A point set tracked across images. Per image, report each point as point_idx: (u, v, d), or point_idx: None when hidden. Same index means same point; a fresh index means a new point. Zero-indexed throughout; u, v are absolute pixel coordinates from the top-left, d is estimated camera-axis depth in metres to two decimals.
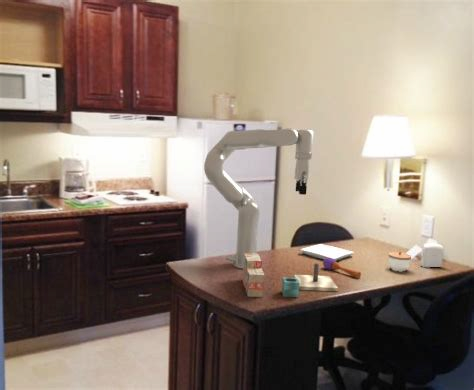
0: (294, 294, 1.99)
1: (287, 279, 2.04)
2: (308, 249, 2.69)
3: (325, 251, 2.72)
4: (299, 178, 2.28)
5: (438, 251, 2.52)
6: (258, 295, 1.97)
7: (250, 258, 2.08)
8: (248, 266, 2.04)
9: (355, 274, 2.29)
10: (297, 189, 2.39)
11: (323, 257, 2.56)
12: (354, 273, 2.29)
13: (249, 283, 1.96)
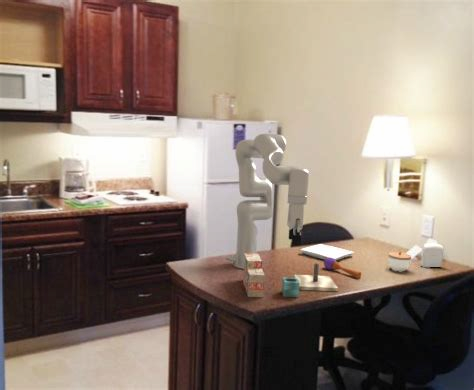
0: (294, 294, 1.99)
1: (287, 279, 2.04)
2: (308, 249, 2.69)
3: (325, 251, 2.72)
4: (292, 226, 1.93)
5: (438, 251, 2.52)
6: (258, 295, 1.97)
7: (250, 258, 2.07)
8: (248, 266, 2.04)
9: (355, 274, 2.28)
10: (290, 237, 2.03)
11: (323, 257, 2.56)
12: (354, 273, 2.29)
13: (249, 283, 1.96)
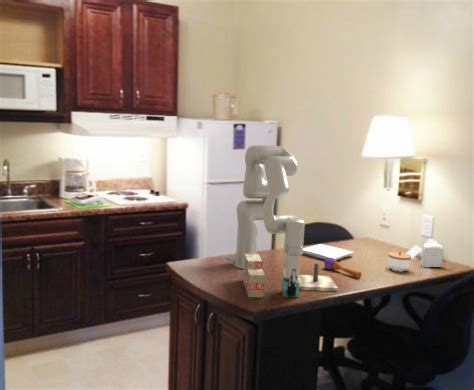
0: None
1: (287, 279, 2.04)
2: (308, 249, 2.69)
3: (325, 251, 2.72)
4: (288, 276, 1.96)
5: (438, 251, 2.52)
6: (259, 296, 1.97)
7: (251, 258, 2.07)
8: (249, 266, 2.04)
9: (355, 274, 2.28)
10: None
11: (323, 257, 2.56)
12: (354, 273, 2.29)
13: (249, 283, 1.96)
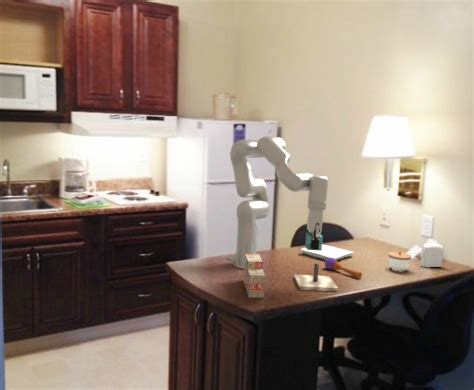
0: None
1: (310, 234, 2.13)
2: None
3: (325, 251, 2.72)
4: (312, 230, 2.05)
5: (438, 251, 2.52)
6: (259, 296, 1.96)
7: (251, 259, 2.07)
8: (249, 267, 2.03)
9: (356, 274, 2.28)
10: None
11: (323, 257, 2.56)
12: (355, 273, 2.29)
13: (250, 284, 1.95)
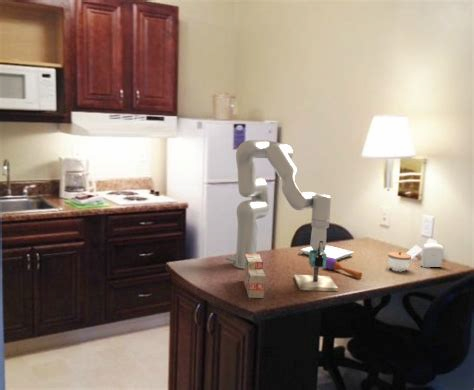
0: None
1: (314, 251, 2.17)
2: (308, 249, 2.69)
3: (325, 251, 2.72)
4: (316, 248, 2.09)
5: (438, 251, 2.52)
6: (259, 296, 1.96)
7: (251, 259, 2.07)
8: (249, 267, 2.03)
9: (356, 274, 2.28)
10: None
11: None
12: (355, 273, 2.29)
13: (250, 284, 1.95)
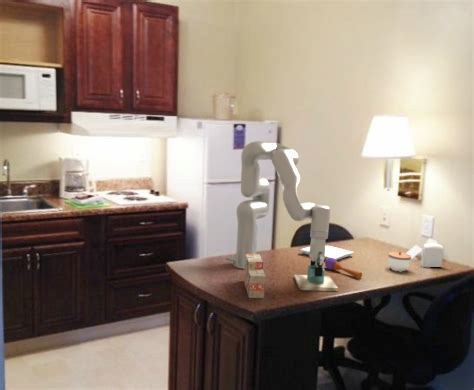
0: (320, 281, 2.14)
1: (312, 267, 2.18)
2: (308, 249, 2.69)
3: (325, 251, 2.72)
4: (315, 259, 2.10)
5: (438, 251, 2.52)
6: (259, 296, 1.96)
7: (251, 259, 2.06)
8: (249, 267, 2.03)
9: (356, 274, 2.28)
10: None
11: None
12: (355, 273, 2.29)
13: (250, 284, 1.95)
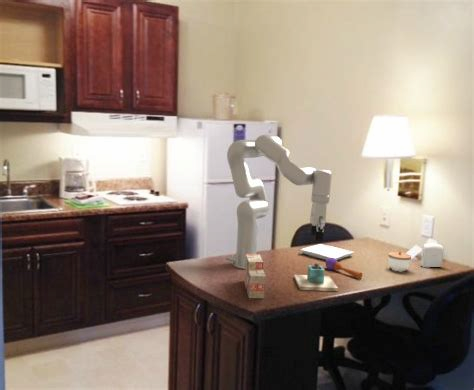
0: (320, 281, 2.14)
1: (312, 267, 2.18)
2: (308, 249, 2.69)
3: (325, 251, 2.72)
4: (315, 223, 2.09)
5: (438, 251, 2.52)
6: (259, 296, 1.96)
7: (252, 259, 2.06)
8: (249, 267, 2.03)
9: (356, 275, 2.28)
10: (313, 233, 2.19)
11: (323, 257, 2.56)
12: (355, 274, 2.28)
13: (250, 284, 1.95)
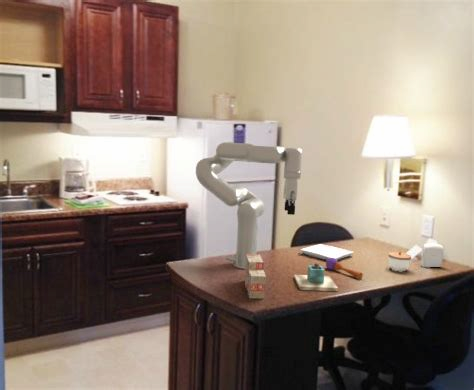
0: (320, 281, 2.14)
1: (312, 267, 2.18)
2: (308, 249, 2.69)
3: (325, 251, 2.72)
4: (287, 198, 2.22)
5: (438, 251, 2.52)
6: (260, 297, 1.95)
7: (252, 259, 2.06)
8: (250, 267, 2.03)
9: (357, 275, 2.28)
10: (286, 208, 2.32)
11: (323, 257, 2.56)
12: (356, 274, 2.28)
13: (250, 285, 1.94)
